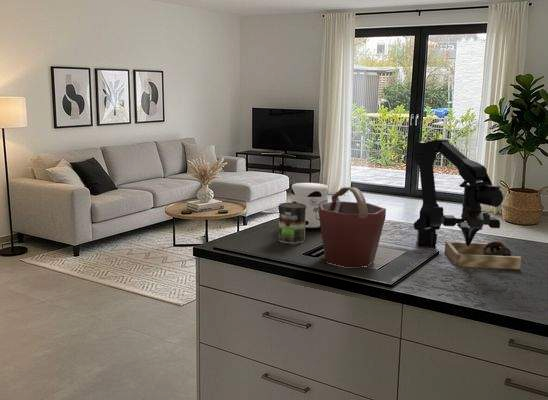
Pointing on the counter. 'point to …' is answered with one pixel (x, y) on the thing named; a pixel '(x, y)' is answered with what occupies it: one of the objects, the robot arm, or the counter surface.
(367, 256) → the bucket
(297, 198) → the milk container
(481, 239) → the counter surface
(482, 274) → the counter surface
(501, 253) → the pottery mug
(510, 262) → the wooden frame
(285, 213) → the coffee can
